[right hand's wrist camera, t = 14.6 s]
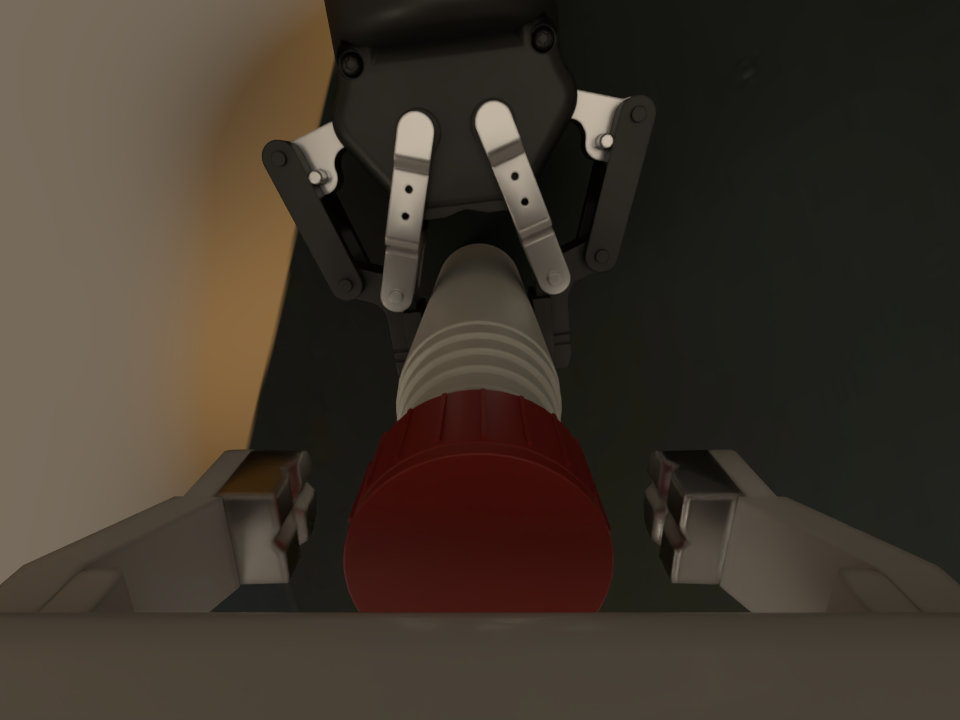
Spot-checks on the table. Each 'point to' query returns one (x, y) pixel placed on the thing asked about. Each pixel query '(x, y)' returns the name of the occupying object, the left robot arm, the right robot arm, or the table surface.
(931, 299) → the table surface
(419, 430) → the cap
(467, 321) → the bottle
